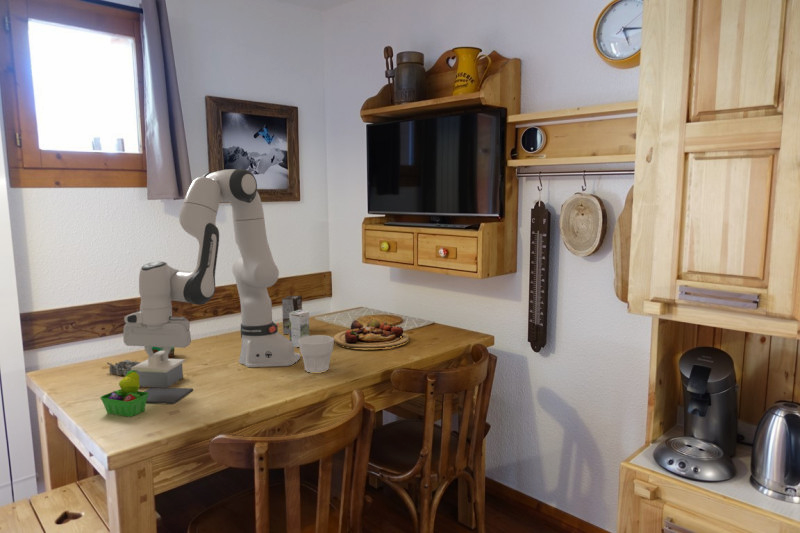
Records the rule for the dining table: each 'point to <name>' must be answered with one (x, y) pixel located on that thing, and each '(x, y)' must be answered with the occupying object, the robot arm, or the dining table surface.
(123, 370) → the egg carton
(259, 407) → the dining table surface
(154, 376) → the crate
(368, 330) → the wooden plate with food
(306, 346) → the cup
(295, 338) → the syrup box
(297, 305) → the coffee box
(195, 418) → the dining table surface
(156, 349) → the food container
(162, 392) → the mat
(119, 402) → the fruit basket
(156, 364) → the lid
